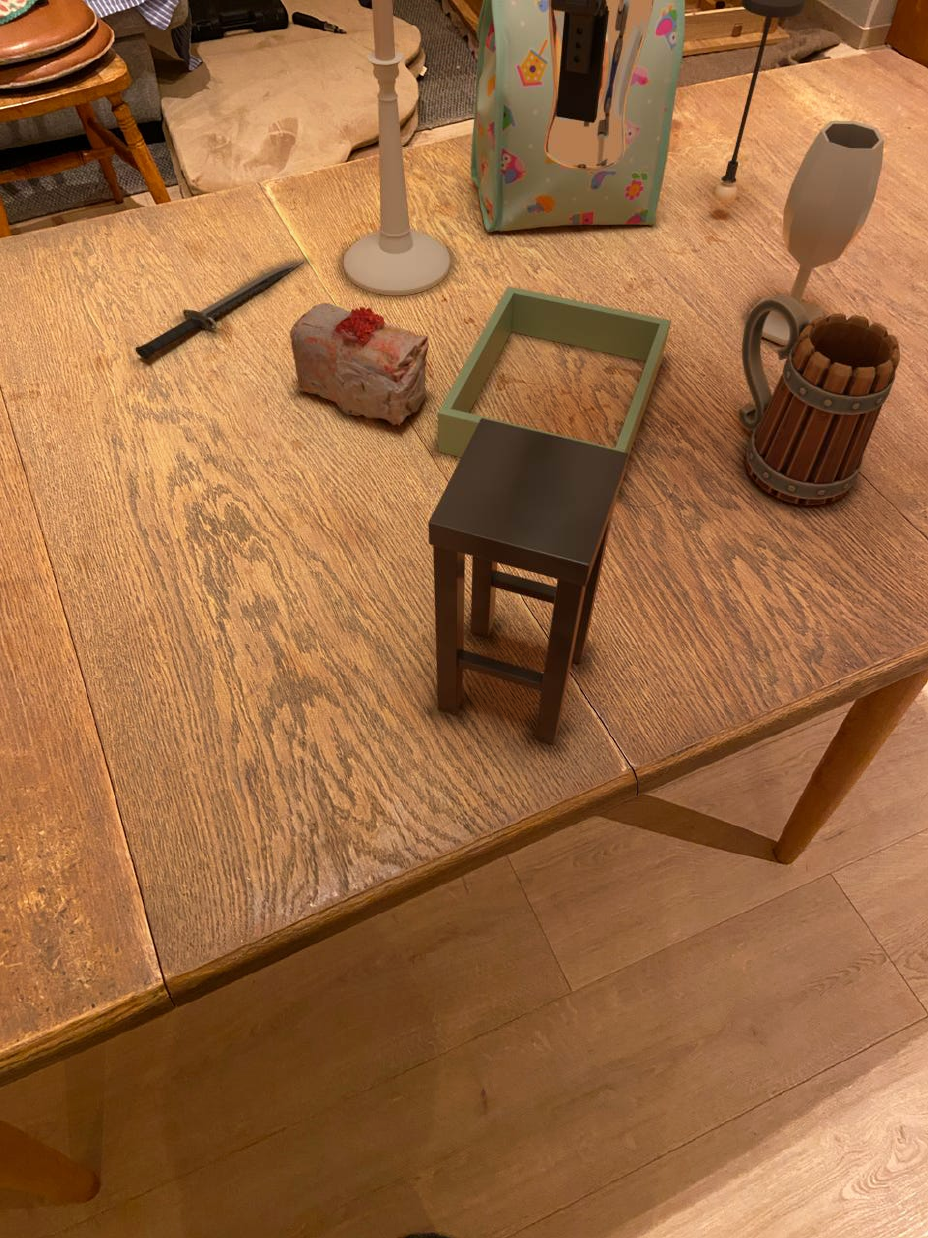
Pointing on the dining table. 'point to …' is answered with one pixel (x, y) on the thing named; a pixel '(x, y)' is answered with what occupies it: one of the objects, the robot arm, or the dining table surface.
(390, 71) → the candlestick
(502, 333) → the green rectangular open frame
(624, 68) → the beer glass
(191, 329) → the knife
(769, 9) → the light fixture
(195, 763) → the dining table surface
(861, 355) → the mug
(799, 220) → the wineglass
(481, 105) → the lunch bag
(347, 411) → the food item
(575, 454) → the stool
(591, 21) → the robot arm
